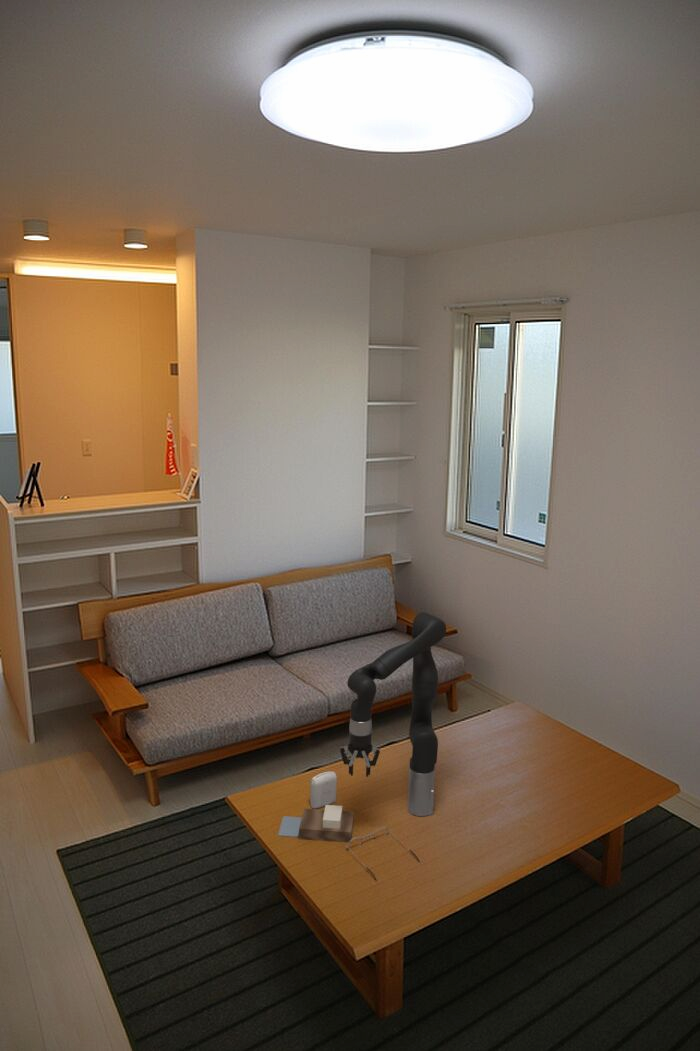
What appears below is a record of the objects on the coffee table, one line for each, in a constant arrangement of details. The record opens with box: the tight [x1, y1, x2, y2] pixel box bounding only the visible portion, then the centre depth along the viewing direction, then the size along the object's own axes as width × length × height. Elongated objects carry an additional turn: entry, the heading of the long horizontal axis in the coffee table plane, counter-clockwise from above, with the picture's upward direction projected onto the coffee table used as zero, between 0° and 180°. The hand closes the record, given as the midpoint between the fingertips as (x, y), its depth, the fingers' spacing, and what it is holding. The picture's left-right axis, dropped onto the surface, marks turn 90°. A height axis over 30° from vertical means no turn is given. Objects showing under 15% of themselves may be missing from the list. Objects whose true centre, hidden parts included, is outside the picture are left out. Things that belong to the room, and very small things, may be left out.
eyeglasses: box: [345, 826, 421, 882], centre depth 253 cm, size 18×19×4 cm
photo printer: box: [309, 771, 338, 809], centre depth 281 cm, size 10×4×12 cm, turn 123°
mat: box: [277, 815, 302, 838], centre depth 268 cm, size 7×11×1 cm, turn 176°
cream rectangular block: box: [323, 804, 343, 829], centre depth 265 cm, size 6×9×3 cm, turn 176°
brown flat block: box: [298, 808, 355, 843], centre depth 266 cm, size 18×12×4 cm, turn 86°
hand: (359, 774), depth 261 cm, fingers open, 4 cm apart
